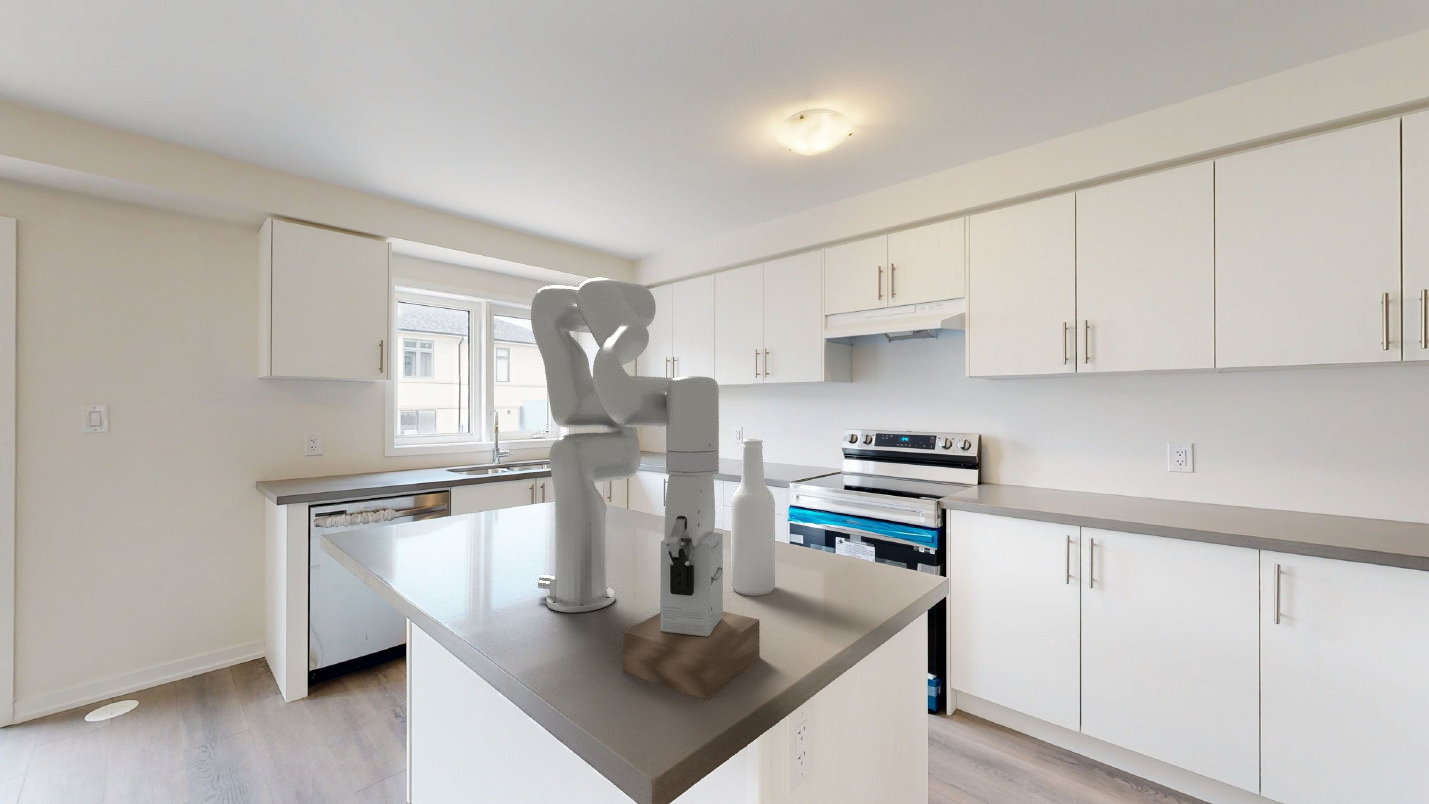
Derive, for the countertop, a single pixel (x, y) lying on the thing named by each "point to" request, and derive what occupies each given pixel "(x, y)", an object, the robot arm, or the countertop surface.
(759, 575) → the white bottle
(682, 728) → the countertop surface
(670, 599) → the supplement box
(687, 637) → the walnut block
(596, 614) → the countertop surface
